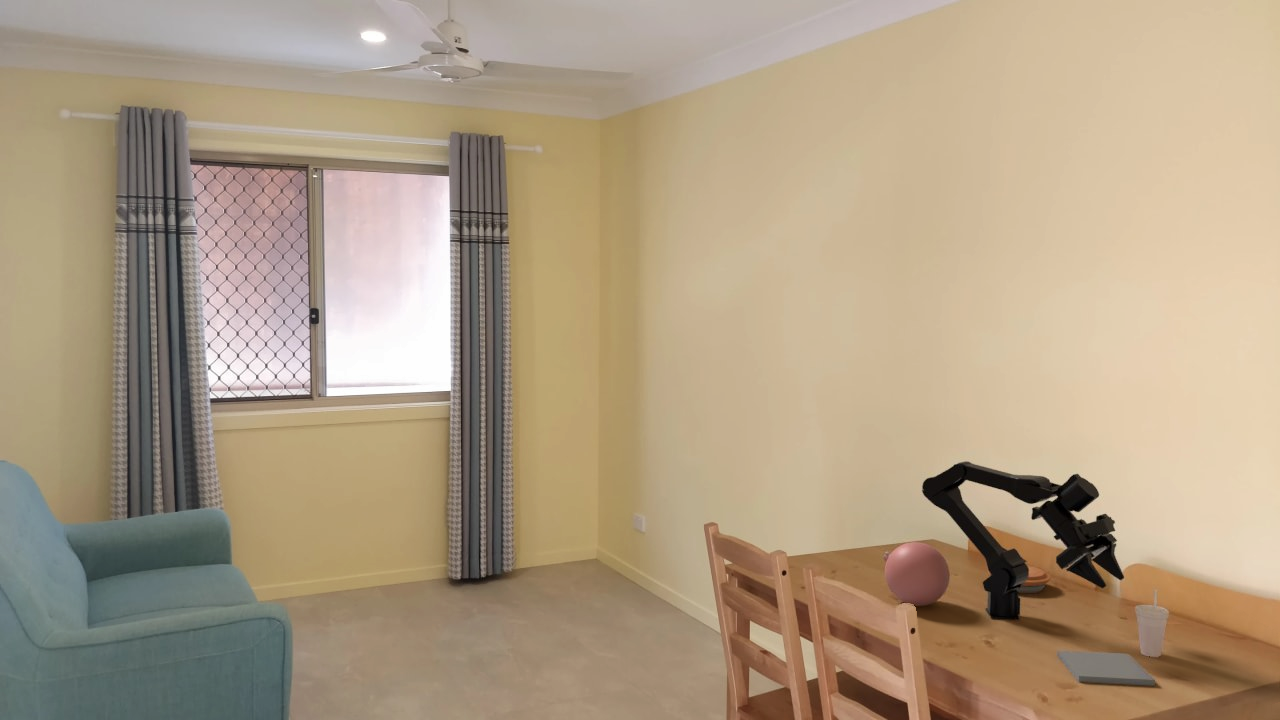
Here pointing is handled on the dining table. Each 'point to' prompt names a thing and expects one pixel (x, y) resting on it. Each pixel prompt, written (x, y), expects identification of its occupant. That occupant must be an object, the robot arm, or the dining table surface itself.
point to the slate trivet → (1105, 668)
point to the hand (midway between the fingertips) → (1113, 583)
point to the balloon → (916, 573)
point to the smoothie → (1151, 627)
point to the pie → (1033, 581)
